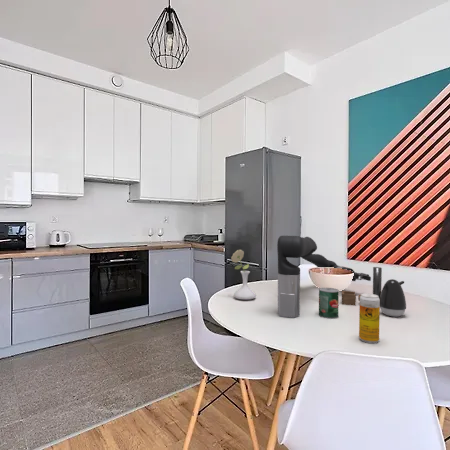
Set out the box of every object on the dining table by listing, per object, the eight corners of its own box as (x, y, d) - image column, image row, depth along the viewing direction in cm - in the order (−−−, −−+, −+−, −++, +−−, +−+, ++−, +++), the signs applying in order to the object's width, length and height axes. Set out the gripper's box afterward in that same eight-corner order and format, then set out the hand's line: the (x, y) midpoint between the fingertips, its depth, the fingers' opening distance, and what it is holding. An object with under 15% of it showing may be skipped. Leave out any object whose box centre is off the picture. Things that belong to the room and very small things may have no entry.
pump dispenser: (412, 318, 129) (413, 281, 129) (389, 319, 127) (390, 281, 127) (395, 311, 139) (395, 276, 139) (373, 312, 137) (374, 277, 137)
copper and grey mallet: (396, 306, 143) (397, 269, 143) (358, 303, 149) (359, 267, 148) (395, 305, 147) (395, 268, 147) (358, 301, 152) (358, 266, 152)
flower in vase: (250, 295, 166) (251, 248, 165) (259, 300, 155) (260, 250, 155) (227, 296, 162) (228, 248, 161) (235, 302, 151) (235, 250, 151)
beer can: (359, 342, 102) (360, 296, 102) (358, 336, 108) (359, 292, 108) (380, 345, 100) (380, 298, 100) (378, 338, 106) (378, 294, 106)
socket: (355, 305, 147) (355, 295, 147) (342, 304, 149) (342, 293, 149) (354, 301, 154) (354, 291, 154) (341, 300, 156) (341, 290, 156)
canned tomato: (338, 319, 126) (338, 292, 126) (317, 317, 129) (318, 290, 128) (338, 314, 133) (338, 288, 133) (319, 312, 136) (319, 287, 136)
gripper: (332, 267, 173) (350, 271, 157) (356, 266, 176) (375, 271, 160) (332, 280, 173) (349, 286, 157) (355, 280, 176) (375, 286, 160)
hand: (362, 279), depth 158 cm, fingers open, 8 cm apart
